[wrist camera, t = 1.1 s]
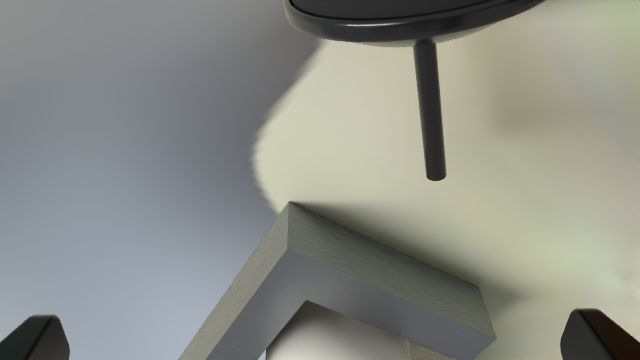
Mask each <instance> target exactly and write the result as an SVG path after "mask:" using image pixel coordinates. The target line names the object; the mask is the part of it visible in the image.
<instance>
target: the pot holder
mask: <svg viewBox="0 0 640 360" xmlns="http://www.w3.org/2000/svg"><path fill="white" fill-rule="evenodd" d="M306 300H308V301H311V302H313V303H316V304H318V305H321V306H323V307H326V308H328V309H331V310H334V311H336V312H339V313H341V314H344V315H346V316H349V317H351V318H354V319H356V320H359V321H361V322H364V323H366V324H369V325H371V326H374V327H376V328H379V329H381V330H384V331H386V332H389V333H391V334H394V335H396V336H399V337H401V338H404V339H406V340H409V341H411V342H414V343H416V344H419V345H421V346H424V347H426V348H429V349H431V350H434V351H436V352H439V353H441V354H444V355H446V356H449V357H451V358H454V359H456V360H472V359H473V358H474V357H476V356H477V355H478V354H479V353H480V352H481V351H482V350H484V349H485V348H486V347H487V346H488V345H489V344H490V343H491V342H493V341H494V340H495V339H496V336H495V333H494V330H493V327H492V324H491V321H490V318H489V315H488V312H487V310H486V307H485V304H484V301H483V298H482V295H481V292H480V289H479V288H478V287H475V286H473V285H471V284H469V283H467V282H464V281H462V280H460V279H458V278H456V277H453V276H451V275H449V274H447V273H445V272H442V271H440V270H438V269H436V268H434V267H431V266H429V265H427V264H425V263H423V262H420V261H418V260H416V259H414V258H412V257H409V256H407V255H405V254H403V253H401V252H398V251H396V250H394V249H392V248H390V247H387V246H385V245H383V244H381V243H379V242H376V241H374V240H372V239H370V238H368V237H365V236H363V235H361V234H359V233H357V232H354V231H352V230H350V229H348V228H346V227H343V226H341V225H339V224H337V223H335V222H332V221H330V220H328V219H326V218H324V217H321V216H319V215H317V214H315V213H313V212H310V211H308V210H306V209H304V208H302V207H299V206H297V205H295V204H293V203H291V202H288V204H287V205H286V206H285V208H284V209H283V211H282V212H281V214H280V215H279V216H278V218H277V219H276V221H275V222H274V224H273V225H272V226H271V228H270V229H269V231H268V232H267V234H266V235H265V236H264V238H263V239H262V241H261V242H260V244H259V245H258V246H257V248H256V249H255V251H254V252H253V254H252V255H251V257H250V258H249V259H248V261H247V262H246V264H245V265H244V267H243V268H242V269H241V271H240V272H239V274H238V275H237V276H236V278H235V279H234V281H233V282H232V284H231V285H230V286H229V288H228V289H227V291H226V292H225V294H224V295H223V296H222V298H221V300H220V301H219V302H218V304H217V305H216V307H215V308H214V309H213V311H212V312H211V314H210V315H209V317H208V318H207V319H206V321H205V323H204V324H203V325H202V327H201V328H200V329H199V331H198V332H197V334H196V335H195V337H194V338H193V340H192V341H191V342H190V344H189V345H188V347H187V348H186V349H185V351H184V352H183V354H182V355H181V357H180V358H179V359H178V360H257V359H258V358H259V357H260V356H261V354H262V353H263V352H264V351H265V350H266V348H267V347H268V346H269V345H270V343H271V342H272V341H273V340H274V339H275V337H276V336H277V335H278V334H279V332H280V331H281V330H282V329H283V327H284V326H285V325H286V324H287V323H288V321H289V320H290V319H291V318H292V316H293V315H294V314H295V313H296V312H297V310H298V309H299V308H300V307H301V305H302V304H303V303H304V302H305V301H306Z"/></svg>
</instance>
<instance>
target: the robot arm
mask: <svg viewBox="0 0 640 360" xmlns="http://www.w3.org/2000/svg"><path fill="white" fill-rule="evenodd" d="M560 348H561V354H562V357H563V360H640V342H639V341H637V340H636V339H635V338H634V337H632V336H631V335H630V334H629V333H627V332H626V331H625V330H624V329H622V328H621V327H620V326H619V325H617V324H616V323H615V322H614V321H613V320H611V319H610V318H609V317H608V316H606V315H605V314H604V313H603V312H601V311H600V310H598V309H593V308H586V309H574V310H573V311H572V312H571V314H570V316H569V319H568V321H567V324H566V327H565V329H564V332H563V335H562V337H561V342H560ZM69 354H70V349H69V344H68V341H67V338H66V335H65V333H64V330H63V327H62V324H61V322H60V319H59V318H58V317H57V316H56V315H33V316H31V317H29V318H28V319H26V320H25V321H24V322H23V323H22V324H21V325H19V326H18V327H17V328H16V329H15V330H14V331H12V332H11V333H10V334H9V335H8V336H7V337H5V338H4V339H3V340H2V341H1V342H0V360H69Z"/></svg>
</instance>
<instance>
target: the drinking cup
mask: <svg viewBox="0 0 640 360" xmlns="http://www.w3.org/2000/svg"><path fill="white" fill-rule="evenodd" d="M544 1H546V0H283V5H284V10H285V15H286V18H287V19H288V21H289V22H290V24H291V25H292V26H293V27H294V28H296V29H297V30H299V31H301V32H303V33H305V34H308V35H311V36H314V37H318V38H323V39H329V40H335V41H345V42H353V43H357V44H364V45H370V46H378V47H412V46H413V51H414V61H415V70H416V80H417V90H418V100H419V109H420V119H421V129H422V139H423V148H424V158H425V168H426V177H427V178H428V179H429V180H432V181H439V180H442V179H444V178H445V177H446V162H445V150H444V137H443V124H442V112H441V99H440V87H439V74H438V61H437V49H436V43H440V42H445V41H449V40H453V39H457V38H461V37H464V36H467V35H470V34H472V33H475V32H477V31H480V30H482V29H484V28H487V27H489V26H491V25H493V24H495V23H497V22H499V21H502V20H505V19H507V18H510V17H513V16H515V15H518V14H520V13H523V12H525V11H527V10H529V9H531V8H533V7H535V6H537V5H539V4H541V3H542V2H544Z"/></svg>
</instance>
